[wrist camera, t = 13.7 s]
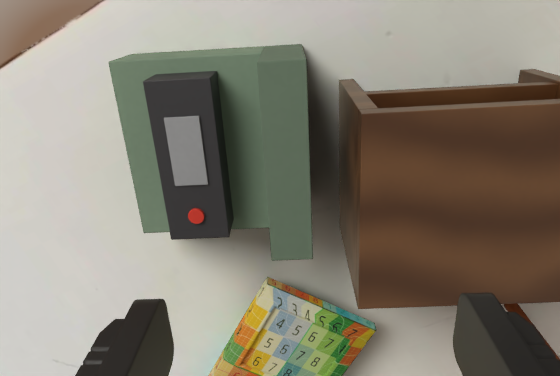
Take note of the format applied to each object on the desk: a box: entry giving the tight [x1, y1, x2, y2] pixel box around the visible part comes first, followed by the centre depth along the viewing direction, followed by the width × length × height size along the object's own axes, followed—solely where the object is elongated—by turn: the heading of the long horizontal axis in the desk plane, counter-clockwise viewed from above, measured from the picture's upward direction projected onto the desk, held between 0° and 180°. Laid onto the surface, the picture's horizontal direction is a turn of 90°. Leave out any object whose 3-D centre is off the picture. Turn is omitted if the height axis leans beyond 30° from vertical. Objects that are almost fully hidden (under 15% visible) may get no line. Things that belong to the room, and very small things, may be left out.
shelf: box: [339, 69, 560, 309], centre depth 33 cm, size 14×16×12 cm
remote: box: [143, 71, 234, 240], centre depth 32 cm, size 12×4×3 cm, turn 3°
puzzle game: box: [208, 277, 376, 376], centre depth 45 cm, size 12×5×20 cm
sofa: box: [109, 44, 313, 261], centre depth 33 cm, size 14×14×10 cm
